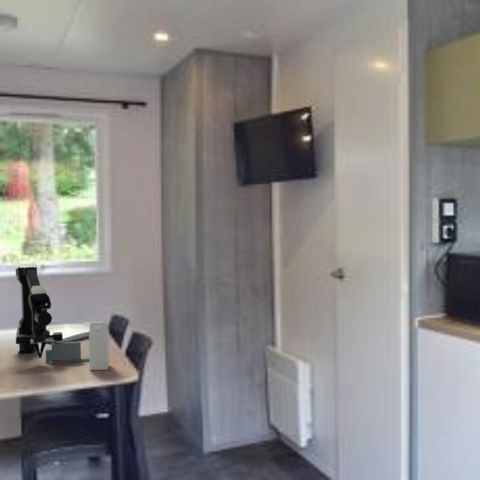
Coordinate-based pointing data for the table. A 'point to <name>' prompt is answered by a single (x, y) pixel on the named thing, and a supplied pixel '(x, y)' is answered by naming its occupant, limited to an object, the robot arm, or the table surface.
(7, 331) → the table surface
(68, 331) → the square plate
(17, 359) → the table surface
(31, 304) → the robot arm
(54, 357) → the screen
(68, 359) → the rail
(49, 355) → the cube
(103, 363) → the milk carton
